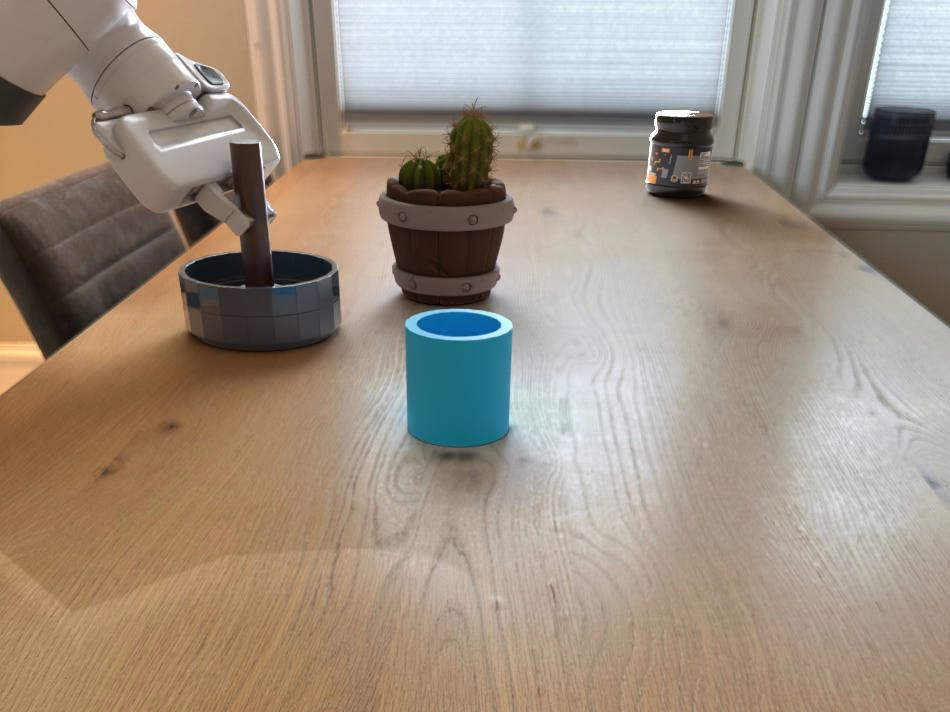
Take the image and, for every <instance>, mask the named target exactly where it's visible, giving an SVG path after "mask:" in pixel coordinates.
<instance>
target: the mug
mask: <svg viewBox="0 0 950 712" xmlns="http://www.w3.org/2000/svg"><path fill="white" fill-rule="evenodd" d="M404 335H405V339H404V340H405V383H406V385H405V386H406V417H407V418H406V425H407V427H406V428H407V430H408V432H409V433H410V435H411V436H413V437H414V438H416V439H417V440H420V441H422V442H426V443H428V444H432V445H437V446H442V447H443V446H444V447H451V448H452V447H459V448H467V447H477V446H483V445H487V444H490V443H491V444H492V443H494V442H496V441H498V440H500V439H503V438H504V437H505V436H506V435H507V434H508V432H509V429H510V407H511V406H510V404H511V403H510V402H511V377H512V356H513V355H512V353H513V352H512V351H513V322H512V321H511V320H510V319H508V317H506V316H503V315H501V314H498V313H496V312H495V313H494V312H491V311H486V310H480V309H472V308H471V309H470V308H443V309H434V310H428V311H423V312H419V313H416V314H414V315H412V316H410V317H409V318H407V319H406V320H405V324H404Z"/></svg>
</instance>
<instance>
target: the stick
mask: <svg viewBox="0 0 950 712" xmlns="http://www.w3.org/2000/svg"><path fill="white" fill-rule="evenodd" d="M229 146H230V155H231V164H232V173H233V182H234V191H235V192H234V191H233V192H234V199H235V205H236V206H237V207H238V208H241V207H244V208H245V210H246V211H247V212H248V213H249V215H250V216H252V217H253V219H254V221H255V224H254V226H253V227H252V228H251V229H250V231H249V232H248V233H246V234H244V235H241V236H239V242H240V251H241V253H242V262H243V271H244V280H245V285H242V286H240V287H270V286H280V285H278V284H274V276H273V266H272V255H271V250H272V246H271V236H270V224H268V214H267V204H266V200H267V194H266V184H265V183H266V182H265V181H264V172H263V162H262V152H261V142H260V141H258V140H248V139H243V140H232V141H230V142H229Z"/></svg>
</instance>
